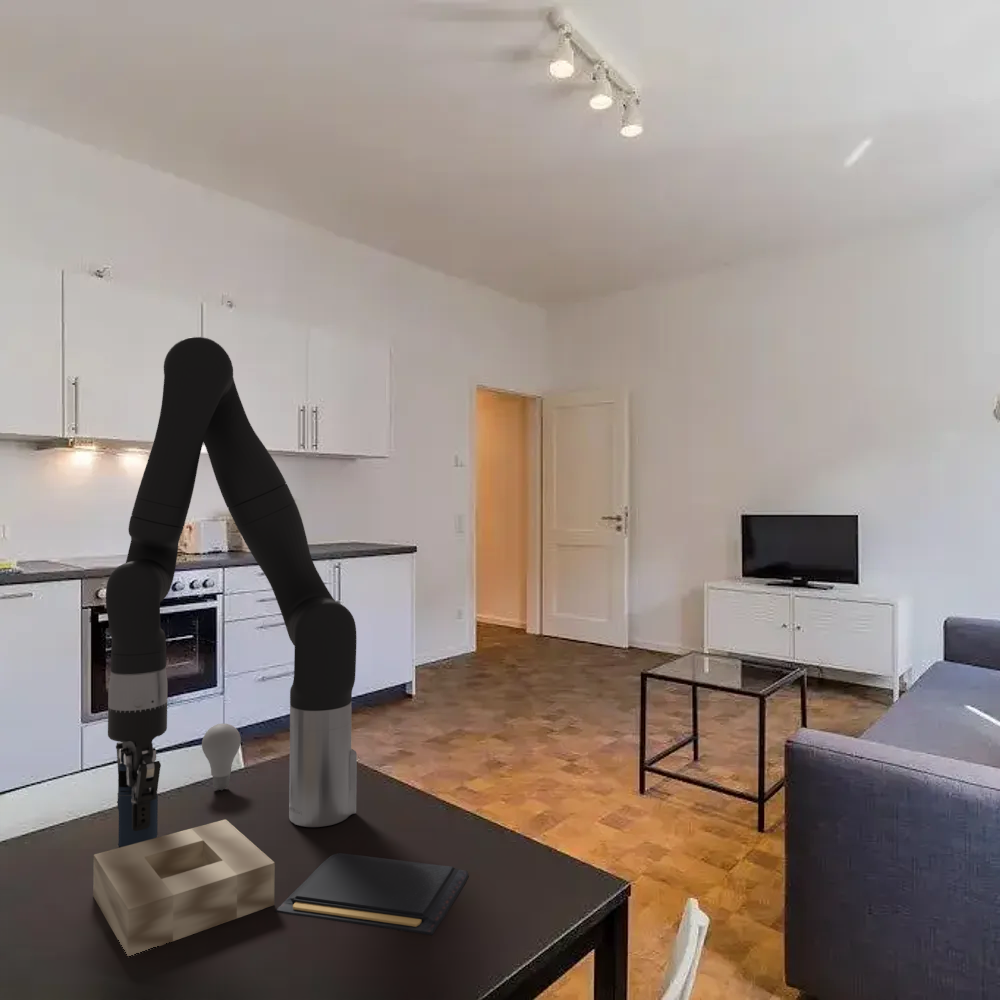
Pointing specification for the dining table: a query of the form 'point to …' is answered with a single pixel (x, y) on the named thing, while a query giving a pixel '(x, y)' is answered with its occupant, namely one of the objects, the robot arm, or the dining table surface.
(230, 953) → the dining table surface
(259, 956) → the dining table surface
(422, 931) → the black book
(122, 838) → the vaping device
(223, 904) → the holder block
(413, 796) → the dining table surface
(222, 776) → the lightbulb
